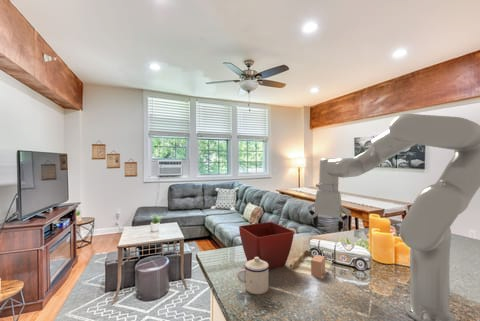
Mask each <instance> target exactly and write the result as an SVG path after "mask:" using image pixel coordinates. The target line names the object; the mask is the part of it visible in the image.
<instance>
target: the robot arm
mask: <svg viewBox="0 0 480 321" xmlns="http://www.w3.org/2000/svg"><path fill="white" fill-rule="evenodd" d="M415 145H419V146H426V147H433V148H439V149H446V150H451V151H452V150H453V151H454V152H453V153H454V154H453V156H452V158H451V159H450V161H449V162H448V163H447V165H446V166H445V169H444V170H443V172H442V174H441V175H440V176H439V177H438V179H437V181H436V182H435V183H433V184H430V185H428V186H426V187H424V188H423V189H422V190H421V191H420V192H419V193H418V195H416V198H415V200H414V201H413V203H412V204H411V206H410V207H409V210H408V211H407V213H406V215H405V216H404V218H403V219H402V221H401V223H400V226H399V236H400V239H401V240H402V242H403V243H404V244H405V245H406V246H407V247H408V248H409V249H410V251H409V277H410V278H409V282H410V283H409V284H410V285H409V287H410V290H409V292H410V298H409V299H410V300H408V301H406V302H405V304H404V311H405V313H406V314H407V315H409V317H411V318H412V319H413V320H415V321H458V319H457V318H456V316H455V315H454V314H453V312H450V311H451V306H450V305H451V302H450V299H451V298H450V296H451V295H450V288H451V287H450V283H451V282H450V270H451V269H450V258H451V257H450V256H451V255H450V254H451V253H450V252H451V240H452V230H451V226H452V225H453V224H454V222H455V221H456V219H457V218H458V217H459V215H460V214H462V213H464V211H466V210H467V209H468V207H469V205H470V203H471V201H472V200H473V198H474V197H475V195H476V193H477V192H478V190H479V189H480V124H479V123H477V122H475V121H472V120H471V119H468V118H466V117H465V118H464V117H460V116H450V115H449V116H448V115H446V116H445V115H434V114H431V115H430V114H419V113H418V114H417V113H403V114H399V115H398V116H396V117H394V119H393V120H391V122H390V124H389V126H388V129H387V130H385V131H384V132H381V133H380V134H378V135H377V136H375V137H374V138H372V139H371V141H370V146H369V148H367V149H366V150H364V151H363V152H362V153H360V154H358V155H356V156H354V157H345V158H344V157H342V158H331V157H329V158H327V157H326V158H325V157H324V158H321V159H320V160H319V178H318V180H319V181H318V183H316V184H315V188H318V190H316V194H315V200H314V203H312V204H310V205H308V206H307V210H308V212H309V214H310V215H311V216H312V218H313V226H314V228H318V226H319V215H320V216H326V217H332V218H333V217H334V218H337V219H338V227H337V228H338V229H337V230H338V232H341V231H342V230H343V229H344V221H345V220H347V219H348V218H349V215H351V213H352V211H351V210H349V209H348V208H346V207H344V206H343V205H342V197H341V192H340V191H339V179H340V178H343V179H344V178H345V179H346V178H354V177H359V176H362V175H363V174H366V173H368V172H370V171H371V170H374V169H375V168H377V167H379V166H380V165H382V164H383V163H385V162H386V161H387V160H388V159H391V158H392V157H394V156H396V155H399V154H400V153H402V152H403V151H405V150H408V149H409V148H412V147H414V146H415ZM313 208H314V210H313ZM342 211H343V212H344V213H345V214H344V215H343V214H342Z"/></svg>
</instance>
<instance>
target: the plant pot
mask: <svg viewBox="0 0 480 321" xmlns="http://www.w3.org/2000/svg"><path fill="white" fill-rule="evenodd" d="M238 229H239V230H238V231H239V236H240V237H239V238H240V240H241V241H240V242H241V246H242V249H243V253H244V256H245V259H246V262H248V261H250V260H253V259H254V258H255V257H259V259H260V260H263V261H266V262H267V263H268V265H269V268H268V271H270V270H273V269H278V268H283V267H285V266H286V264H287V261H288V257H289V256H290V252H291V248H292V245H293V240H294V235H295V231H294V230H291V229H290V228H287V227H284V226H282V225H280V224H278V223H276V222H273V221H268V222H260V223H252V224H244V225H239V226H238Z"/></svg>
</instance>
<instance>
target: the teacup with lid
mask: <svg viewBox="0 0 480 321" xmlns="http://www.w3.org/2000/svg"><path fill="white" fill-rule="evenodd" d="M244 268H245V269H244ZM244 268H243V269H242V268H241V269H240V270H238V271H237V274H236V275H237V276H236V277H237V280H238V282H240V284H241V283H242V284H245V290H246V291H247V292H248V293H249V294H253V295H262V294H265V293H267V292H268V291H269V288H270V286H269V285H270V284H269V281H270V280H269V270H268V268H269V265H268V263H267V262H266V261H263V260H260V259H259V257H255V258H254V259H253V260H250V261H246V262H245V264H244ZM241 273H245V280H244V279H241V278H240V274H241Z"/></svg>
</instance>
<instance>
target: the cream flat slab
mask: <svg viewBox="0 0 480 321" xmlns="http://www.w3.org/2000/svg"><path fill="white" fill-rule="evenodd" d="M311 251H312V250H309V249H304V250H303V251H302V252H301V253H299V254H298V256H296V258H295V259H294V260H293V261H292V262H291V263H290V264H289V270H290V271H292V272H295V273H296V272H297V273H300V274H304V275H307V276H312V277H317V278H321V279H324V278H325V276H326V275H327V273H328V271H329V269H330V268H331V265H332V264H333V262H332V261H329V260H325V271H324V273H323V275H322V276H321V277H319V276H315V275H311V260H312V257H311V256H310V252H311Z"/></svg>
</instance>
